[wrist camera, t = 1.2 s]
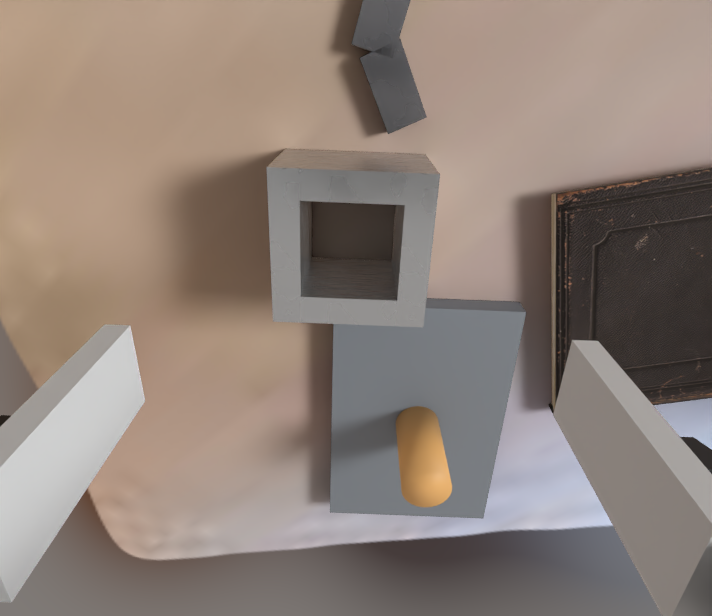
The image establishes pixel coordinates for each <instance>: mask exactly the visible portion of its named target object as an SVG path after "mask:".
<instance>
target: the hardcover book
mask: <svg viewBox="0 0 712 616" xmlns="http://www.w3.org/2000/svg"><path fill="white" fill-rule="evenodd" d="M551 271H552V404H549V407H550V409H551V411H552V413H554V409H555V405H556V401H557V398H558V394H559V390H560V386H561V382H562V378H563V374H564V370H565V366H566V362H567V358H568V354H569V350H570V346H571V343H572V340H586V341H598V342H599V343H600V344H601V345H602V346H603V347H604V349H605V350H606V351H607V352H608V353H609V354H610V356H611V357H612V358H613V359H614V360H615V361H616V363H617V364H618V365H619V366H620V367H621V368H622V370H623V371H624V372H625V373H626V374H627V375H628V377H629V378H630V379H631V380H632V381H633V383H634V384H635V385H636V386H637V387H638V388H639V390H640V391H641V392H642V393H643V394H644V395H645V397H646V398H647V399H648V400H649V401H650V402H651V404H652V405H658V404H666V403H674V402H682V401H690V400H698V399H706V398H712V167H711V168H705V169H699V170H693V171H687V172H681V173H675V174H669V175H663V176H657V177H651V178H644V179H638V180H632V181H626V182H620V183H614V184H608V185H602V186H596V187H590V188H584V189H578V190H572V191H566V192H560V193H554V194H551Z"/></svg>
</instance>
